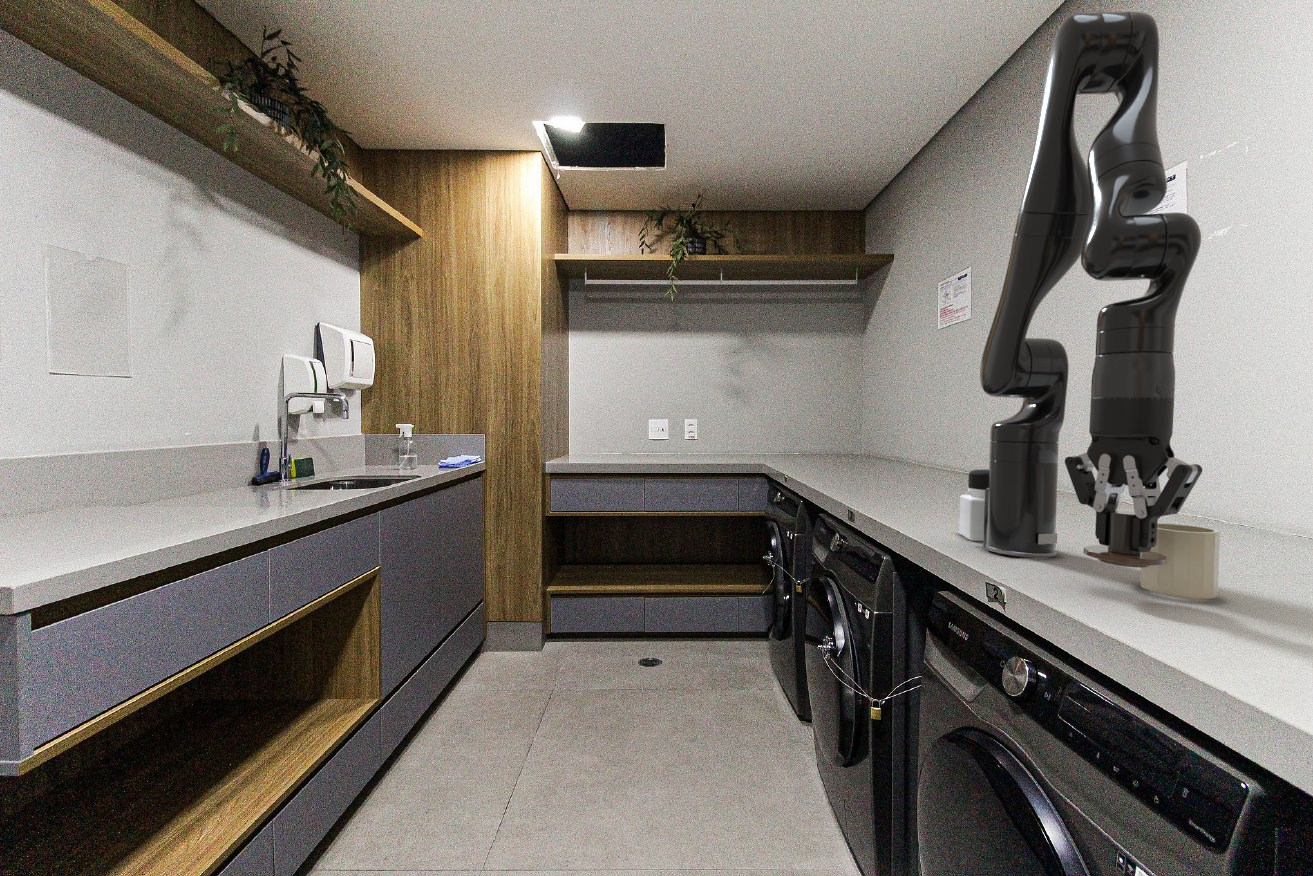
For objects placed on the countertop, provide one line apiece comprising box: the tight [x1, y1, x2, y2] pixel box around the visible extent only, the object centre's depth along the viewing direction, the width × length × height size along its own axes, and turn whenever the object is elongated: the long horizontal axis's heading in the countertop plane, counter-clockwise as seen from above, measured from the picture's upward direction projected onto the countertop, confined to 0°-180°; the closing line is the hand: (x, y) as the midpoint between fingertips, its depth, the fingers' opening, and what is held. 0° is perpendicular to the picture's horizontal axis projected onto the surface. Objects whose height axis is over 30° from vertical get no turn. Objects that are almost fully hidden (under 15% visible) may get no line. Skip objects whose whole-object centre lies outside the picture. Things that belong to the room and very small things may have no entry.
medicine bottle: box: [958, 468, 989, 542], centre depth 111 cm, size 7×7×12 cm
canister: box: [1139, 522, 1221, 600], centre depth 75 cm, size 7×7×8 cm
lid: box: [1083, 510, 1167, 569], centre depth 72 cm, size 8×8×6 cm
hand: (1124, 547), depth 72 cm, fingers closed on lid, 3 cm apart
